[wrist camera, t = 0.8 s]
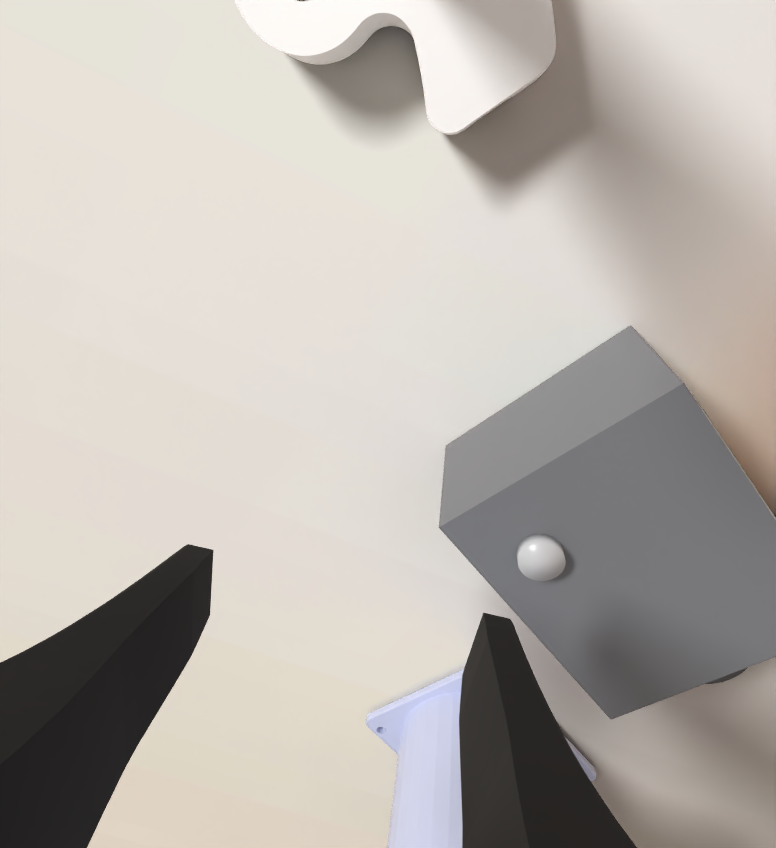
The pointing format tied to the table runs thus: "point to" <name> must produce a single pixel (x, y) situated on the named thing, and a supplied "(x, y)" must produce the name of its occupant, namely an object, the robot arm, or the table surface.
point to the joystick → (424, 44)
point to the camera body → (618, 528)
